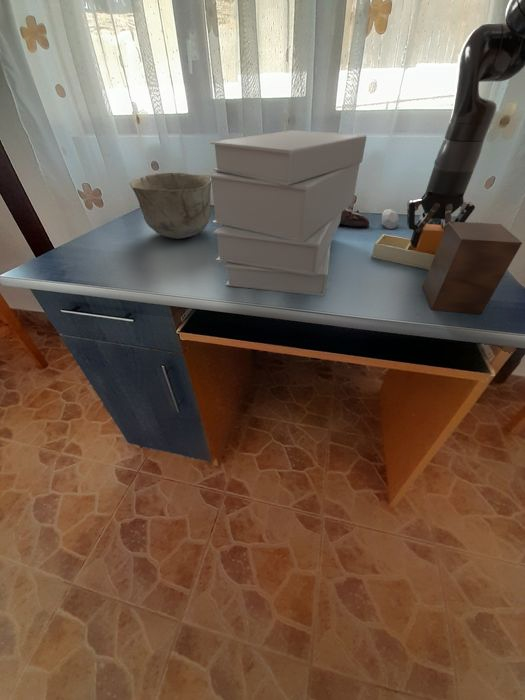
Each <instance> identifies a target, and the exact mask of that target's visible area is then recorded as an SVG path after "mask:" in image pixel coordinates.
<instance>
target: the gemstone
mask: <svg viewBox="0 0 525 700" xmlns="http://www.w3.org/2000/svg"><path fill="white" fill-rule="evenodd" d="M399 219H400V217H399V215H398V213H397V212H396V211H395V210H394V209H393V208H387V209H385V210H384V211H383V212H382V213H381V225H383V226H384V227H385V228H387V229H390V230H393V229H395V228H396V227H397V226H398V225H399V221H400V220H399Z"/></svg>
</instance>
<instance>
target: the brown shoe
mask: <svg viewBox="0 0 525 700" xmlns="http://www.w3.org/2000/svg"><path fill="white" fill-rule="evenodd" d="M339 225H343V226H347V227H352V228H353V227H354V228H368V227H370V220H369V219H368V217H366V216H364V215H363V214H362V213H360V210H358V209H357V210H356V211H353V210H352V209H351V208H350V207H347V208H346V209H345V210H344V211H342V214H341V220H340V223H339Z"/></svg>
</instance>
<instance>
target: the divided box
mask: <svg viewBox="0 0 525 700" xmlns="http://www.w3.org/2000/svg"><path fill="white" fill-rule="evenodd" d="M410 240H411V238H407V237H402V236H396V235H391V234H386V233H383V234H382V235H381V236H380V237H379V238H378V239H377V240H376V242H374V245H373V249H372V253H371V258H374V259H378V260H382V261H387V262H391V263H396V264H400V265H405V266H410V267H414V268H419V269H423V270H427V271H429V269H430V266H431V264H432V261H433V259H434V256H435V255H433V254H428V253H423V252H418V251H413V249H412V245H411V243H410Z"/></svg>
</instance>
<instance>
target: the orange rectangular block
mask: <svg viewBox="0 0 525 700" xmlns="http://www.w3.org/2000/svg"><path fill="white" fill-rule="evenodd" d="M443 233H444V230H443V228H442V227H441V225H439V224H433V223H432V224H426V225H425V226H424V228H423V229H422V231H421V235H420V238H419V241H418V244H417V247H416V248H413V247H412V249H413V251H418V252H423V253H428V254H433V255H435V254H436V251H437V248H438V246H439V243H440V241H441V238H442V235H443Z"/></svg>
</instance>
